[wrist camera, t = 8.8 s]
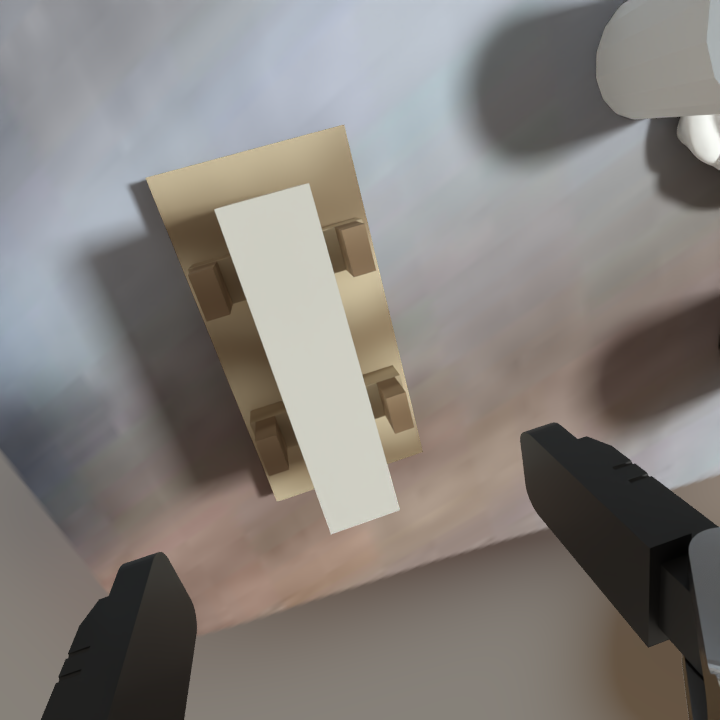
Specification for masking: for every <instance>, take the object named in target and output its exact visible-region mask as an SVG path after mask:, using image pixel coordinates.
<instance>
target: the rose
mask: <svg viewBox="0 0 720 720" xmlns="http://www.w3.org/2000/svg"><path fill="white" fill-rule="evenodd" d="M677 137H678V139H679V140H680V141H681V142H682V143H683V144H684V145H685V146H687V147H688V148H689V149H690V151H691V152H692V153H693V154H694V155H695V156H696V157H697V158H698V159H699V160H700V161H702V162H704V163H706V164H708V165H711V166H714V167H715V168H717V169H718V170H720V114H713V115H697V116H681V117H680V120H679V123H678V126H677Z"/></svg>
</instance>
